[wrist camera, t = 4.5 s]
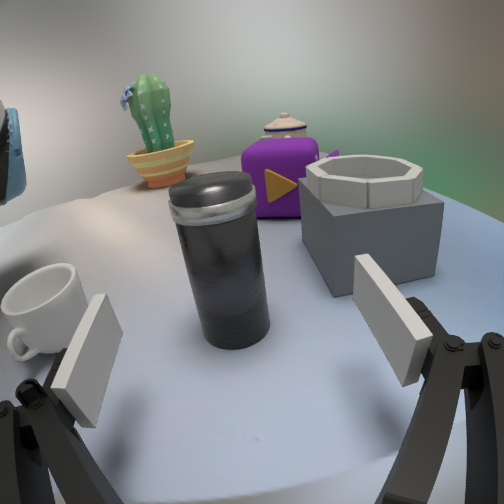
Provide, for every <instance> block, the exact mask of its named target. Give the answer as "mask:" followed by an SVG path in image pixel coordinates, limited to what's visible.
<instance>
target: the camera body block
mask: <svg viewBox="0 0 504 504" xmlns="http://www.w3.org/2000/svg"><path fill="white" fill-rule="evenodd" d="M298 183H299V196H300V210H301V224H302V240H303V242H304V244H305V246H306V247H307V249H308V251H309V253H310V255H311V256H312V258H313V260H314V262H315V264H316V266H317V267H318V269H319V271H320V273H321V275H322V277H323V278H324V280H325V282H326V284H327V286H328V288H329V289H330V291H331V293H332V295H333V297H338V296H343V295H348V294H353V285H354V264H355V256H356V255H362V254H369V255H370V256H371V258H372V259H373V260H374V261H375V262H376V263H377V265H378V266H379V267H380V268H381V269H382V271H383V272H384V273H385V274H386V276H387V277H388V278H389V279H390V280H391V282H392V283H393V284H394V285H395V284H400V283H404V282H409V281H413V280H417V279H422V278H426V277H430V276H434V274H435V268H436V262H437V256H438V250H439V243H440V236H441V228H442V220H443V211H444V202H443V201H441V200H440V199H438V198H436V197H435V196H433V195H431V194H429V193H428V192H426V191H424V190H422V185H423V169H422V168H421V167H420V166H417V165H415V164H413V163H410V162H408V161H405V160H403V159H399V158H392V157H383V156H374V155H350V156H337V157H327V158H323V159H321V160H319V161H316V162H314V163H312V164H310V165H307V166H306V178H298Z"/></svg>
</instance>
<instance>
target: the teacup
mask: <svg viewBox="0 0 504 504" xmlns="http://www.w3.org/2000/svg"><path fill="white" fill-rule="evenodd" d="M87 308H88V303H87V300H86V297H85V294H84V291H83V288H82V285H81V282H80V279H79V276H78V274H77V271H76V269H75V268H74V266H73V265H71V264H68V263H57V264H52V265H48V266H45V267H42V268H40V269H38V270H35V271H33V272H32V273H30V274H28V275H26V276H25V277H23V278H22V279H20V280H19V281H18V282H17V283H15V284H14V285H13V286H12V287H11V288H10V289H9V290H8V291H7V293H6V294H5V296H4V297H3V299H2V302H1V310H2V312H3V314H4V316H5V318H6V319H7V321H8V322H9V324H10V325H11V327H12V328H13V330H12V331H11V332H10V334H9V336H8V339H7V347H8V350H9V353H10V355H11V356H12V358H13V359H15V360H17V361H26V360H29V359H31V358H32V357H34V356H35V355H36V354H38V353H39V352H40V353H45V354H52V353H59V352H60V351H61V350H62V349H63V348H68V347H69V345H70V342H71V340H72V338H73V336H74V334H75V332H76V330H77V328H78V326H79V324H80V322H81V320H82V318H83V316H84V314H85V312H86V310H87ZM17 336H18V337H19V338H20V340H21V341H22V342H23V343H24V344H25V345H26V346H28V348H29V349H28V351H27V353H26V354H24V355H23V356H18V355H17V353H16V351H15V349H14V345H13V342H14V339H15V337H17Z"/></svg>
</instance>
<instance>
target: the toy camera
mask: <svg viewBox="0 0 504 504" xmlns="http://www.w3.org/2000/svg"><path fill="white" fill-rule="evenodd" d="M337 156H339V152H338V150H336V151H334V152H333V153H331V154H330V155H329V156H327V157H337ZM327 157H326V158H327ZM316 161H319V150H318V145H317V143H316V141H315V140H314V139H312V138H308V137H295V138H277V139H273V136H271V135H267V136H261V137H260V141H257V142H256V143H254V144H253V145H251V146H250V147H248V148H247V149H246V150H245V151H244V152H243V153H242V156H241V164H242V172H245V173H248V174H250V175H251V180H252V184H253V185H254V186H255V191H256V199H257V206H256V207H255V211H256V217H301V210H300V196H299V183H298V178H306V166H307V165H310V164H312V163H314V162H316Z"/></svg>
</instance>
